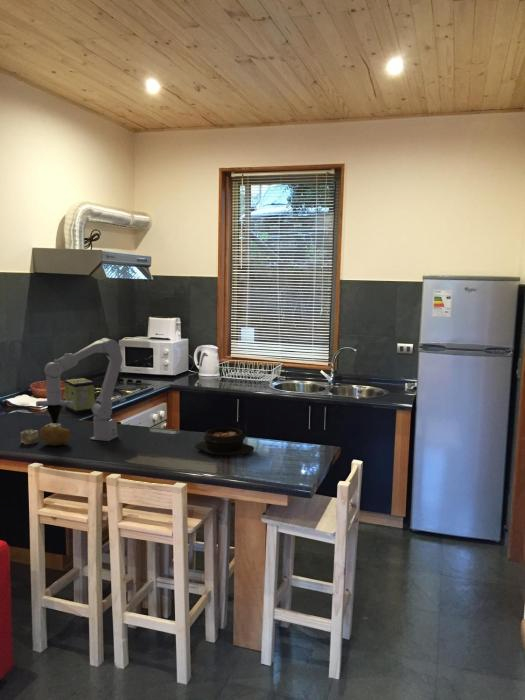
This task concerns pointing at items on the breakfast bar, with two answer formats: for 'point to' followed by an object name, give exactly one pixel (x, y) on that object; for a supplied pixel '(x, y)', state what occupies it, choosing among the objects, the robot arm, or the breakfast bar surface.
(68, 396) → the protein box
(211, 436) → the casserole
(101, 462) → the breakfast bar surface
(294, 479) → the breakfast bar surface
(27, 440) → the pip block four
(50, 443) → the potato
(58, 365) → the robot arm
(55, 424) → the pip block two
